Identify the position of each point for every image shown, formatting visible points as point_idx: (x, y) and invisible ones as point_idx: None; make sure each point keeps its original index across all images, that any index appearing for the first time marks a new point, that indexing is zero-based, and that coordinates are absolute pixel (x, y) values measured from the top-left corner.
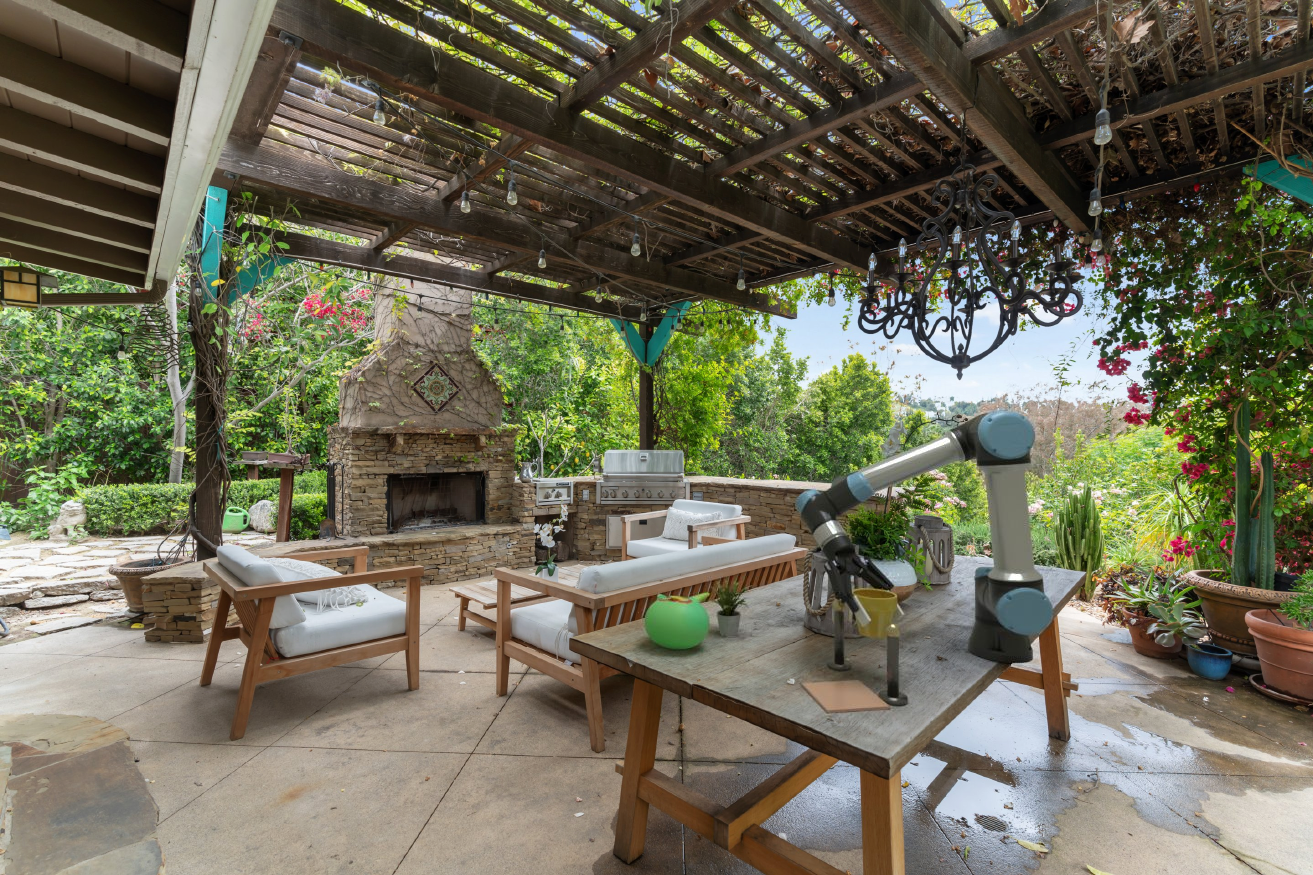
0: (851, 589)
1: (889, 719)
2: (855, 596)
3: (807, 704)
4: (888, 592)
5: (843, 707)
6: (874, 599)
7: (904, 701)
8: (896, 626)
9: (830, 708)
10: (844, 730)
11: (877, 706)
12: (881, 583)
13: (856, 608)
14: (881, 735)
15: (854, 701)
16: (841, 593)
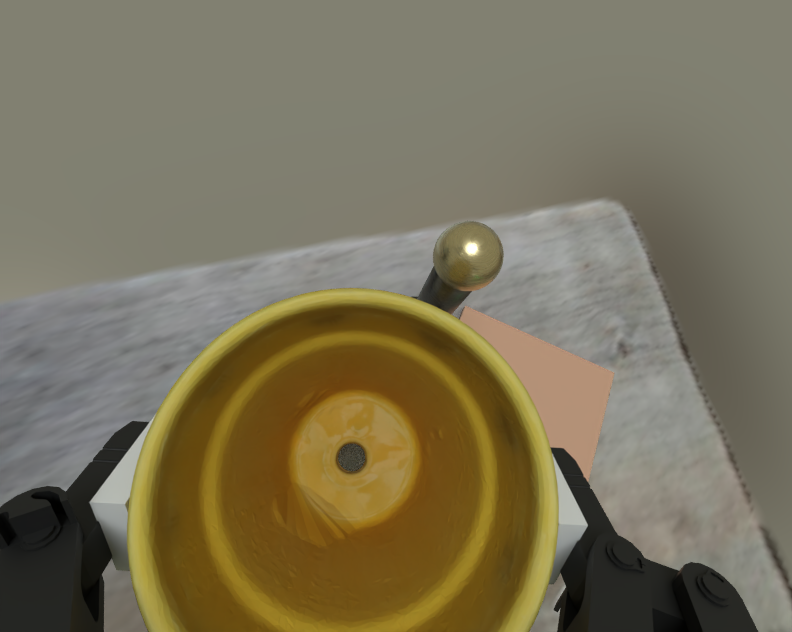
0: (595, 606)
1: (505, 278)
2: (567, 516)
3: (624, 435)
4: (161, 458)
5: (569, 362)
6: (498, 355)
7: (417, 297)
8: (476, 224)
9: (601, 375)
10: (625, 300)
11: (492, 321)
12: (54, 616)
13: (560, 454)
14: (572, 248)
15: (522, 370)
16: (727, 582)
